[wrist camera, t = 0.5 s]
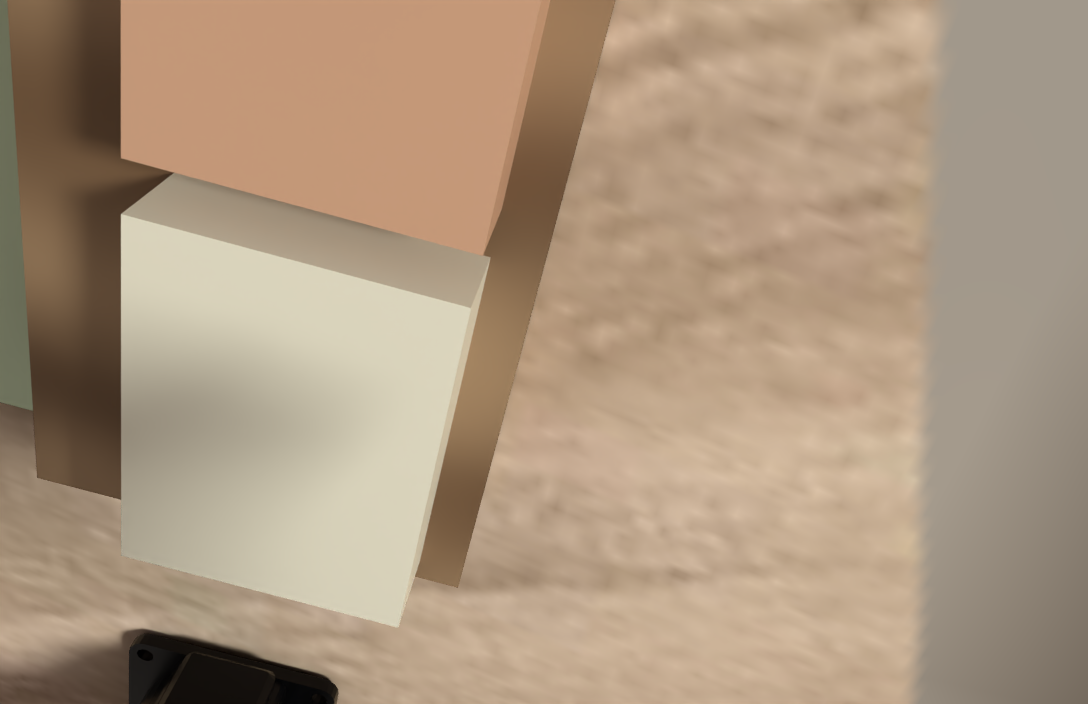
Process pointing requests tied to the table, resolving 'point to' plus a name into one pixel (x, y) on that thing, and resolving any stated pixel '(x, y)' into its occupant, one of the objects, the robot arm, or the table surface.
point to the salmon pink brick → (337, 103)
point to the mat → (11, 246)
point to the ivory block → (286, 393)
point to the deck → (116, 184)
